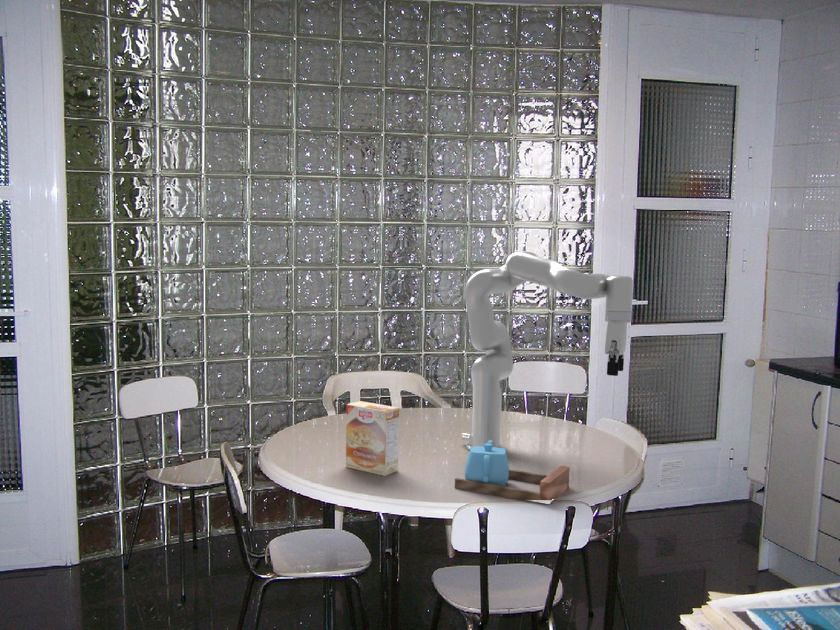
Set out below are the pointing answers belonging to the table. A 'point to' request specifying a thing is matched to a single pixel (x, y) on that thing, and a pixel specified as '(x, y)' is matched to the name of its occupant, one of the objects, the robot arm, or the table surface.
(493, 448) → the teapot
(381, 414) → the coffeecake box
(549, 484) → the guide track
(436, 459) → the table surface
